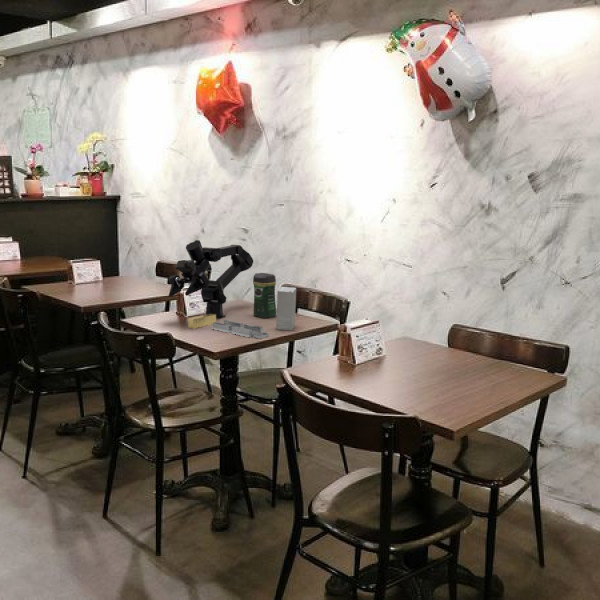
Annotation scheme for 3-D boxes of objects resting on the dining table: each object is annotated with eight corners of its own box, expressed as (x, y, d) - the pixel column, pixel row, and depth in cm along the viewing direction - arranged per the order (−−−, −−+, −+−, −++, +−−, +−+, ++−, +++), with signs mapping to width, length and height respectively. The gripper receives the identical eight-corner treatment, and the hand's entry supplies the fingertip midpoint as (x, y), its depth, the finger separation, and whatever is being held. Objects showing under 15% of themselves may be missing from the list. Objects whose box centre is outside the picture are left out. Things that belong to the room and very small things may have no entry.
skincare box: (279, 325, 264) (279, 286, 261) (296, 325, 263) (297, 286, 260) (275, 329, 256) (275, 290, 253) (293, 330, 255) (293, 290, 252)
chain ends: (227, 325, 262) (227, 319, 262) (271, 335, 247) (271, 328, 247) (212, 329, 256) (212, 322, 256) (256, 339, 241) (256, 332, 241)
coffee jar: (279, 316, 280) (279, 273, 276) (265, 319, 274) (265, 275, 271) (264, 313, 286) (263, 270, 283) (250, 315, 281) (249, 272, 277)
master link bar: (188, 328, 259) (188, 318, 259) (211, 322, 268) (210, 313, 268) (193, 329, 258) (193, 319, 257) (216, 324, 267) (215, 314, 266)
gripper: (171, 256, 267) (150, 281, 257) (204, 251, 256) (183, 278, 246) (185, 277, 272) (165, 302, 263) (218, 273, 261) (198, 299, 252)
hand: (177, 295), depth 256 cm, fingers open, 9 cm apart
